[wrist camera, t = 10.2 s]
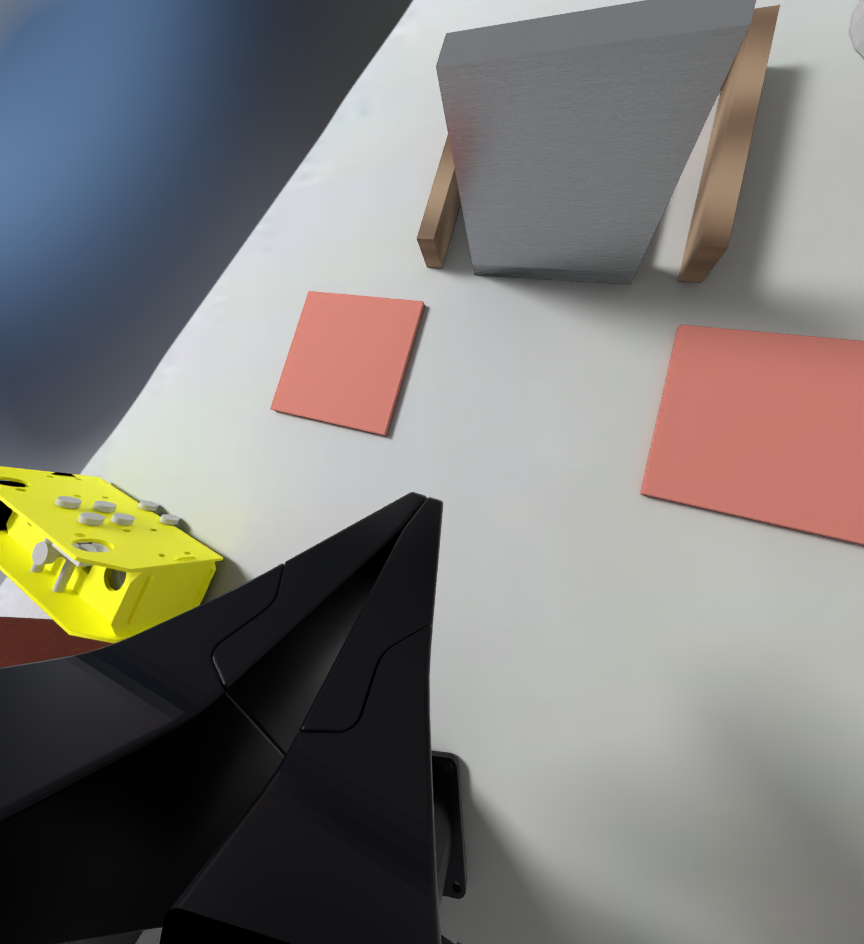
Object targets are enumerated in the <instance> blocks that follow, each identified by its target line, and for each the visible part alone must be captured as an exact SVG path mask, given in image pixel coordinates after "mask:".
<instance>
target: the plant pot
mask: <svg viewBox="0 0 864 944" xmlns="http://www.w3.org/2000/svg"><path fill="white" fill-rule="evenodd" d="M111 644H114V643H109V642H104V641H99V640H94V639H88V638H83V637H78V636H73V635H69V634H68V633H67V632H66V631H64V630H63V629H62V628H61V627H60V626H59V625H58V624H57V623H56V622H55V621H54V620H51V619H35V618H16V617H0V668H3V667H9V666H15V665H21V664H27V663H33V662H39V661H45V660H50V659H56V658H62V657H68V656H73V655H77V654H81V653H85V652H89V651H93V650H96V649H99V648H103V647H106V646H108V645H111Z"/></svg>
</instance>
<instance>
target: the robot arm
mask: <svg viewBox="0 0 864 944" xmlns="http://www.w3.org/2000/svg"><path fill="white" fill-rule="evenodd" d="M442 513H443V502H442V501H441V500H438V499H434V498H431V497H429V498H427V497H426V496H425V495H422V494H418V493H415V492H411V493H409V494H407V495H405V496H403V497H402V498H400V499H398V500H396V501H394V502H393V503H391V504H389V505H387V506H385V507H383V508H382V509H380V510H378V511H376V512H374V513H373V514H371V515H369V516H367V517H365V518H364V519H362V520H360V521H358V522H356V523H355V524H353V525H351V526H349V527H347V528H346V529H344V530H342V531H340V532H338V533H337V534H335V535H333V536H331V537H329V538H328V539H326V540H324V541H322V542H320V543H319V544H317V545H315V546H313V547H311V548H309V549H308V550H306V551H304V552H302V553H300V554H299V555H297V556H295V557H293V558H291V559H290V560H288V561H286V562H285V565H284V564H280V565H279V566H277V567H275V568H273V569H271V570H270V571H268V572H266V573H264V574H262V575H260V576H258V577H256V578H255V579H253V580H251V581H249V582H247V583H245V584H243V585H241V586H239V587H237V588H235V589H233V590H231V591H229V592H227V593H225V594H223V595H221V596H219V597H216V598H214V599H212V600H210V601H208V602H206V603H204V604H202V605H199V606H197V607H195V608H193V609H191V610H188V611H186V612H184V613H182V614H180V615H177V616H175V617H173V618H171V619H169V620H167V621H164V622H162V623H160V624H158V625H156V626H153V627H151V628H149V629H147V630H145V631H142V632H140V633H138V634H136V635H134V636H131V637H129V638H127V639H124V640H122V641H119V642H117V643H114V644H111V645H108V646H106V647H103V648H99V649H96V650H93V651H89V652H85V653H81V654H77V655H73V656H68V657H62V658H56V659H50V660H45V661H39V662H33V663H27V664H21V665H15V666H9V667H3V668H0V944H135V943H136V941H137V940H138V938H139V937H140V935H141V934H142V932H143V930H147V929H153V928H160V927H163V928H162V933H161V938H160V944H454V943H452V942H451V941H450V940H448V939H447V938H445V937H444V936H442V935H441V931H440V917H439V909H440V904H441V899H442V896H447V897H452V898H456V899H461V898H462V897H464V895H465V892H466V885H467V875H466V861H465V847H464V833H463V818H462V804H461V790H460V776H459V763H458V759H457V758H456V756H455V755H453V754H452V753H447V752H438V751H431V729H430V679H429V677H430V657H431V642H432V630H433V628H432V627H433V616H434V605H435V593H436V582H437V570H438V559H439V547H440V536H441V524H442ZM446 763H451V765H452V766H453V767H452V768H449V767H448V766H447V765H446ZM454 881H456V882H458V883H459V884H460V885H457V884H455V882H454ZM457 944H461V943H460V942H457Z"/></svg>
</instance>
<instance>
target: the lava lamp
mask: <svg viewBox="0 0 864 944" xmlns="http://www.w3.org/2000/svg"><path fill="white" fill-rule="evenodd" d="M850 34H851V38H852V41H853V44H854V48H855V50H857V51H858V52H859V53H860V54H861V55H862V56H863V57H864V0H861V1H860V2H859V4H858V5H857V7H856V8H855V10H854V12H853V17H852V21H851V26H850Z"/></svg>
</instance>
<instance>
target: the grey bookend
mask: <svg viewBox="0 0 864 944" xmlns="http://www.w3.org/2000/svg"><path fill="white" fill-rule="evenodd" d="M755 3H756V0H645V1H639V2H633V3H627V4H621V5H615V6H609V7H603V8H597V9H591V10H585V11H579V12H573V13H566V14H560V15H554V16H548V17H542V18H536V19H530V20H524V21H518V22H512V23H506V24H500V25H494V26H488V27H482V28H476V29H470V30H464V31H458V32H452V33H446V36H445V39H444V42H443V45H442V49H441V52H440V55H439V58H438V62H437V65H436V70H437V75H438V81H439V86H440V91H441V97H442V102H443V108H444V113H445V119H446V124H447V130H448V135H449V140H450V146H451V151H452V157H453V162H454V168H455V173H456V179H457V184H458V190H459V195H460V200H461V206H462V211H463V217H464V222H465V228H466V233H467V239H468V244H469V249H470V255H471V260H472V266H473V271H474V275H483V276H499V277H515V278H531V279H547V280H563V281H579V282H595V283H611V284H627V285H630V284H631V282H632V280H633V278H634V275H635V273H636V271H637V269H638V267H639V265H640V262H641V260H642V258H643V256H644V254H645V252H646V249H647V247H648V245H649V243H650V241H651V239H652V236H653V234H654V232H655V230H656V228H657V226H658V224H659V221H660V219H661V217H662V215H663V213H664V211H665V208H666V206H667V204H668V202H669V200H670V198H671V195H672V193H673V191H674V189H675V187H676V185H677V182H678V180H679V178H680V176H681V174H682V172H683V169H684V167H685V165H686V163H687V161H688V159H689V156H690V154H691V152H692V150H693V148H694V146H695V143H696V141H697V139H698V137H699V135H700V133H701V130H702V128H703V126H704V124H705V122H706V120H707V117H708V115H709V113H710V111H711V109H712V107H713V105H714V102H715V100H716V98H717V96H718V94H719V92H720V89H721V87H722V85H723V83H724V81H725V79H726V76H727V74H728V72H729V70H730V68H731V66H732V63H733V61H734V59H735V57H736V55H737V53H738V50H739V48H740V46H741V44H742V42H743V40H744V37H745V35H746V33H747V31H748V29H749V27H750V24H751V20H752V16H753V12H754V7H755Z"/></svg>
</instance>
